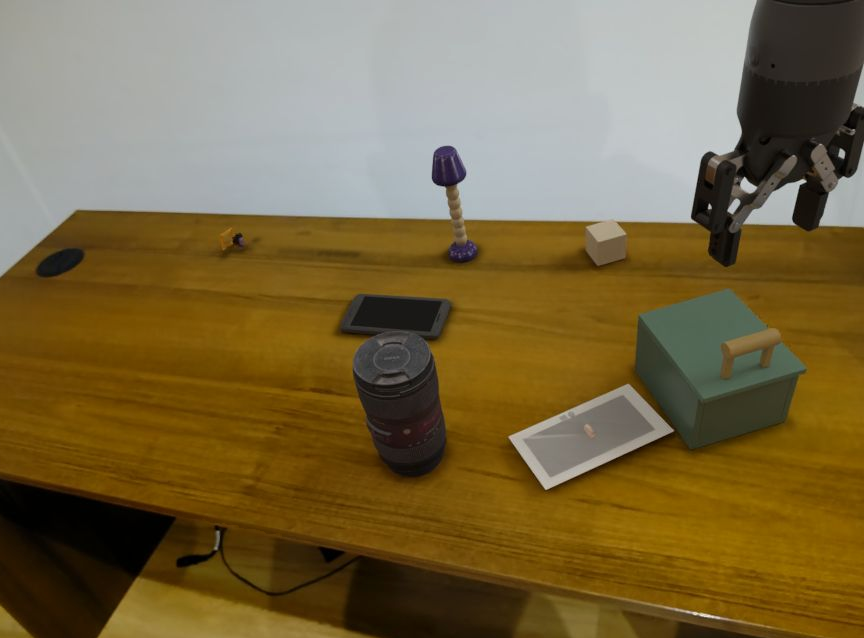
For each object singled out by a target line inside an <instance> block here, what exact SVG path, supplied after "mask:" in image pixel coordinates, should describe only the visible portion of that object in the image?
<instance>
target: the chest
mask: <svg viewBox="0 0 864 638" xmlns="http://www.w3.org/2000/svg"><path fill="white" fill-rule="evenodd" d="M635 341H636V344H635V355H634V357H635V359H634V369H633V370H634V372H635V373H636V374H637V377H639V378H640V380H641V382H642V383H643V384H644V386H645V387H646V388H647V390H648V392H649V393H650V394H651V396H652V397H653V399H654V400H655V402H656V403H657V404H658V406H659V407H660V409H661V410H662V411H663V413H664V414H665V416H666V418H667V419H668V420H669V421H670V423H671V425H672V426H673V427H674V429H675V430H676V431H677V433H678V435H679V436H680V437H681V439H682V440H683V441H684V443H685V444H686V446H687V447H688V449H689V450H690V451H692V450H694V449H699V448H702V447H705V446H708V445H711V444H714V443H718V442H721V441H726V440H729V439H732V438H734V437H738V436H742V435H745V434H749V433H751V432H752V433H753V432H755V431H758V430H762V429H766V428H768V427H771V426H775V425H779V424H781V423H785V422H787V419H788V415H789V411H790V408H791V404H792V402H793V398H794V394H795V390H796V388H797V384H798V380H799V377H800V375H798V376H795V377H791V378H788V379H784V380H781V381H778V382H774V383H771V384H768V385H764V386H761V387H757V388H754V389H751V390H747V391H744V392H741V393H737V394H734V395H730V396H727V397H724V398H720V399H717V400H714V401H710V402H707V403H702V402H701V401H700V399H699V398H698V397H697V395H696V394H695V393H694V391H693V390H692V389H691V388H690V386H689V385H688V384H687V382H686V381H685V380H684V378H683V377H682V376H681V374H680V373H679V372H678V371H677V369H676V368H675V367H674V365H673V364H672V363H671V361H670V360H669V359H668V357H667V356H666V355H665V354H664V352H663V351H662V350H661V348H660V347H659V346H658V344H657V343H656V342H655V340H654V339H653V338H652V337H651V335H650V334H649V333H648V331H647V330H646V329H645V327H644V326H643V325H642V323H641V322H640V321H639V320H638V319H637V328H636V340H635Z"/></svg>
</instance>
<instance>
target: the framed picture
mask: <svg viewBox="0 0 864 638" xmlns="http://www.w3.org/2000/svg"><path fill="white" fill-rule="evenodd" d="M228 234H229V235H230V241H229V242H228V243H225V239H224V237H226V236H227V235H228ZM234 234H235V235H234ZM243 238H244V237H243V234H242V233H241V232H236V233H234V227H230V228H229V229H227V230H225V231H224V232H222V233H221V234H219V239H220V245H221V250H222V251H225V250H226V249H227V248H230V247H231V246H232V245H235V246H236V248H238V249H243V247H244V246H246V247H247V246H248V245H249V244H246V243H245V241H244V239H243Z"/></svg>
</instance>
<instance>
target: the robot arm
mask: <svg viewBox="0 0 864 638" xmlns="http://www.w3.org/2000/svg"><path fill="white" fill-rule="evenodd" d="M742 66H743V67H742V73H741V80H740V86H739V92H738V99H737V104H736V116H737V119H738V123H739V126H740V129H741V134H740V137H739V139H738V141H737V143H736V145H735V147H734V149H733V151H730V152H726V153H724V154H721V155H719V154H717V153H715V152H714V151H711V150H708V151H707V152H705V153H704V154H703V155H702V156H701V159H700V163H699V168H698V173H697V180H696V185H695V191H694V196H693V202H692V207H691V213H690V219H691V220H692V221H693V222H694V223H696V224H698V225H699V226H701V227H702V228H704V229H705V230H706V231H708V232H710V234H709V242H708V247H707V253H708V256H710V257H711V258H712V259H713V260H714V261H715V262H717V263H718V264H720V265H721V266H723V267H725V268H728V267H731V266H733V265H735V264H736V263H737V259H738V252H739V247H740V241H741V235H742V228H741V227H742V226H743V225H744V224H745V222H746V220H747V219H748V218H749V216H750V215H751V214H752V212H753V211H754V210H758V209H761V208H762V207H763V206H764V204H766V202H767V201H768V199H769V197H770V196H771V195H772V194H773V192H776V191H778V190H780V189H782V188H783V187H785V186H786V185H788V184H794V183H797V182H800V181H802V180H803V181H805V182H803V183H801V184H799V186H798V191H797V194H796V198H795V203H794V208H793V210H792V211H793V212H792V215H791V221H792V223H793V224H794V225H795V226H797V227H799V228H801V229H802V230H804V231H806V232H809V233H810V232H812V231H815V230H816V229H818V228H819V227H820V224H821V223H820V222H821V220H822V218H823V217H824V213H825V210H826V206H827V202H828V198H829V195H830V192H832V191H834V190H835V189H836V188H837V186H838V184H839V180H840V179H842V178H846V179H850V178H852V177H854V175H855V174H856V173H857V171H858V168H859V163H860V160H861V156H862V152H863V147H864V106H862V105H860V104H857V103H855V98H856V95H857V90H858V86H859V84H860V83H859V82H860V79H861V76H862V71H863V68H864V0H756V2H755V5H754V8H753V11H752V15H751V18H750V23H749V27H748V34H747V41H746V47H745V54H744V60H743V65H742ZM841 150H842V151H843V152H844V156H843V157H841V156H840V151H841ZM744 179H746V181H747V183H749V184H750V185H753V186H754V187H756V189H754V191H753V192H748V191H746V190H745V189H743V188H742V187H741V183H742V181H743V180H744ZM735 200H738V201H739V204H738V206H737V207H736V209H735V210H734V212H733V213H731V212H730V211H729V208H730V207H731V206H732V204H733V203H734V201H735ZM710 207H711V208H710Z"/></svg>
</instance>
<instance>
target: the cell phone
mask: <svg viewBox="0 0 864 638" xmlns="http://www.w3.org/2000/svg"><path fill="white" fill-rule="evenodd" d="M451 307H452V303H451V300H449V299H446V298H435V297H421V296H407V295H406V296H405V295H389V294H386V295H385V294H376V293H375V294H374V293H373V294H372V293H358V294H356V295H355V296H354V297H353V299H352V301H351V303H350V305H349V306H348V309H347V311H346V312H345V314H344V316H343V318H342V320H341V322H340V325H339V329H340V332H342V333H345V334H346V333H347V334H359V335H371V336H376V335H378V334H382V333H386V332H393V331H404V332H409V333H414V334H416V335H418V336H420V337H421V338H423V339H424V340H437V339H438V338H440V336H441V334H442V331H443V329H444V326H445V324H446V320H447V319H448V315H449V313H450V310H451Z"/></svg>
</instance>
